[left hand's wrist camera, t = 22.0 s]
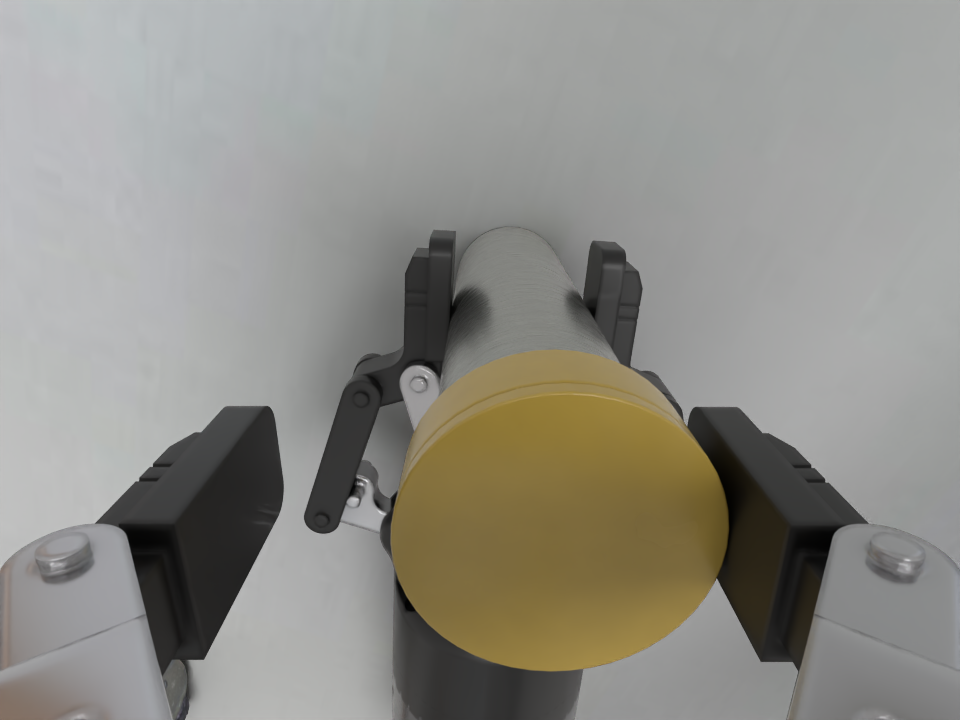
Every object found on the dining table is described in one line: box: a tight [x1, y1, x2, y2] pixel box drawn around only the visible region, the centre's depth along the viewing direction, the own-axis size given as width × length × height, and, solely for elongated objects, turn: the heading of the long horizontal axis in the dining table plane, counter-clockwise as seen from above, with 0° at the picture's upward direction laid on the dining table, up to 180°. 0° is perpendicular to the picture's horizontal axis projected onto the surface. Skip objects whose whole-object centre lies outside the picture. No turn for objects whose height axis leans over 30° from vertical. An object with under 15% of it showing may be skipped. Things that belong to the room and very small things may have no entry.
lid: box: [391, 349, 729, 671], centre depth 10 cm, size 5×5×2 cm
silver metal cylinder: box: [438, 227, 620, 397], centre depth 18 cm, size 4×4×16 cm
